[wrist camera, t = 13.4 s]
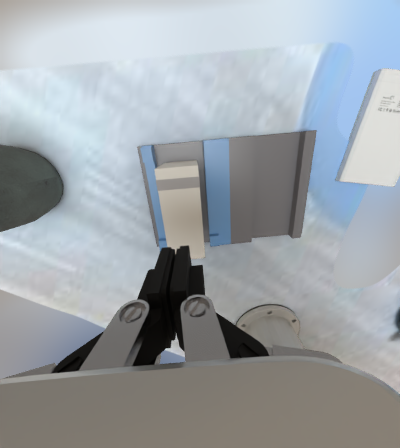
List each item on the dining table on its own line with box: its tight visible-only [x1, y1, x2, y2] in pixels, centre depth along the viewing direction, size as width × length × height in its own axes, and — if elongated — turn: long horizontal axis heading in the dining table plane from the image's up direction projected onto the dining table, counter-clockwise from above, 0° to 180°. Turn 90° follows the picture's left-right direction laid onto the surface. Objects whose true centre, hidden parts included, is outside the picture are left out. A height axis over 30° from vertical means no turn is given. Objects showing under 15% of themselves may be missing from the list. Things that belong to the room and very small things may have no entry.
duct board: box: [137, 130, 316, 251], centre depth 25 cm, size 14×22×3 cm, turn 95°
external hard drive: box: [335, 68, 400, 187], centre depth 23 cm, size 2×8×12 cm
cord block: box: [154, 160, 205, 259], centre depth 22 cm, size 10×4×7 cm, turn 4°
